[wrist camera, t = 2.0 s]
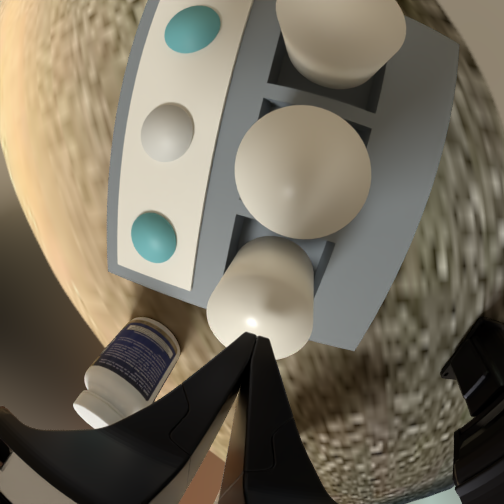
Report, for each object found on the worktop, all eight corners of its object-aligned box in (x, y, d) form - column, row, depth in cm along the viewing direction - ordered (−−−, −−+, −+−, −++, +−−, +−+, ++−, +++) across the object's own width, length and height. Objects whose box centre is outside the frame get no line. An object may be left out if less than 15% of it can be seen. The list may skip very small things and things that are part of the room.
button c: (325, 250, 12) (329, 294, 9) (298, 317, 14) (292, 370, 10) (241, 225, 12) (215, 260, 9) (226, 295, 14) (201, 342, 11)
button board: (436, 57, 9) (462, 42, 6) (349, 320, 17) (354, 355, 14) (176, 2, 11) (151, -18, 8) (132, 253, 18) (104, 273, 15)
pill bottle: (124, 306, 21) (54, 383, 12) (180, 325, 20) (118, 422, 11) (133, 350, 23) (79, 422, 14) (182, 368, 23) (136, 454, 14)
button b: (362, 133, 10) (386, 130, 6) (335, 220, 12) (346, 254, 8) (269, 107, 10) (251, 91, 7) (248, 194, 12) (223, 218, 8)
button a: (384, 28, 7) (409, -8, 4) (369, 101, 9) (397, 85, 6) (296, 4, 8) (289, -41, 4) (277, 75, 9) (262, 47, 6)
